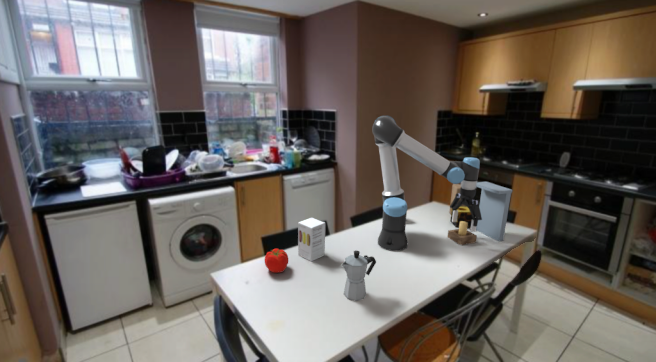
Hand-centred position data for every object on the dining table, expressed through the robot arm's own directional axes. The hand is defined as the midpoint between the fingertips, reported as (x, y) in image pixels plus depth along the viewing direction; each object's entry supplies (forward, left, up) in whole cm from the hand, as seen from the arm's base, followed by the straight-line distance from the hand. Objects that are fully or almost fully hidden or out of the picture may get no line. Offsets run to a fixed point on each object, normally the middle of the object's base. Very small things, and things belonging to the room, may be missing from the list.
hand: (463, 226), depth 168 cm
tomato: (-99, +1, -8) cm, 99 cm away
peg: (0, 0, -8) cm, 8 cm away
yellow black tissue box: (+15, +17, -8) cm, 24 cm away
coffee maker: (-73, -26, -8) cm, 78 cm away
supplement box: (-81, +9, -8) cm, 82 cm away
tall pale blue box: (+16, 0, -8) cm, 18 cm away
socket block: (0, 0, -8) cm, 8 cm away
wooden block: (+24, +29, -8) cm, 38 cm away
